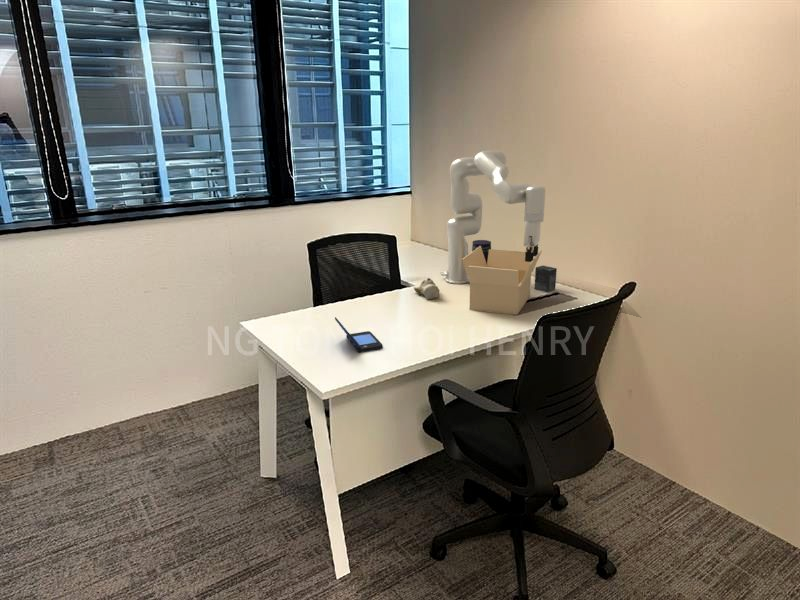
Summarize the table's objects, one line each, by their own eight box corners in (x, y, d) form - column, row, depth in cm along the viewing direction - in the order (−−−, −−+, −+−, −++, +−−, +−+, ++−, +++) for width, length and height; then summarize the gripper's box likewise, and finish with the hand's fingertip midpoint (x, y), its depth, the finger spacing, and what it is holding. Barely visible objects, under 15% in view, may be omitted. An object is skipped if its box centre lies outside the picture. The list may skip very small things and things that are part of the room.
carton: (458, 310, 221) (459, 260, 214) (480, 289, 248) (481, 244, 242) (515, 317, 212) (518, 265, 205) (531, 294, 239) (533, 248, 232)
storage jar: (470, 271, 278) (470, 243, 274) (473, 266, 287) (473, 239, 283) (489, 272, 276) (490, 244, 271) (491, 267, 285) (492, 240, 280)
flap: (529, 263, 206) (530, 264, 206) (541, 249, 228) (542, 250, 228) (519, 286, 210) (520, 286, 210) (531, 270, 232) (533, 270, 232)
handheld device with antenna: (383, 349, 185) (383, 324, 182) (347, 355, 181) (345, 330, 178) (369, 333, 199) (368, 310, 196) (335, 339, 195) (333, 315, 192)
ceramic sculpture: (421, 282, 230) (412, 275, 244) (422, 301, 232) (412, 293, 246) (444, 280, 233) (434, 273, 247) (445, 299, 235) (434, 291, 249)
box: (555, 290, 245) (557, 268, 242) (548, 292, 242) (549, 270, 238) (541, 286, 251) (542, 264, 247) (533, 289, 247) (535, 267, 244)
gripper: (528, 213, 221) (526, 253, 227) (519, 220, 206) (517, 263, 212) (547, 214, 218) (544, 254, 224) (539, 221, 204) (536, 264, 209)
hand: (531, 258), depth 218 cm, fingers open, 9 cm apart
